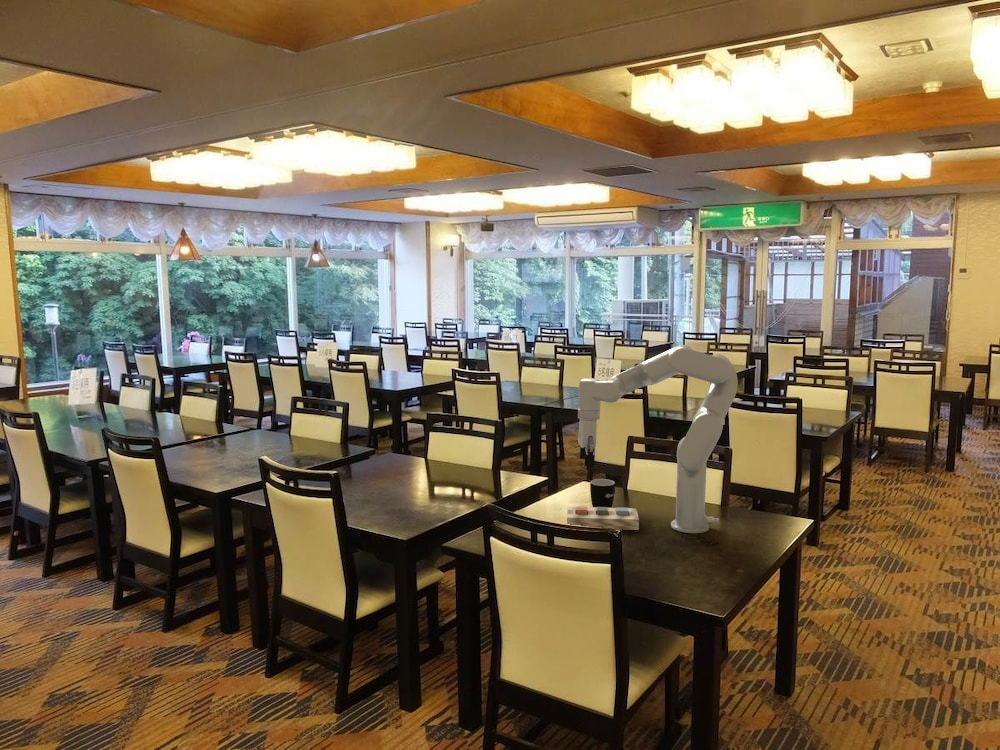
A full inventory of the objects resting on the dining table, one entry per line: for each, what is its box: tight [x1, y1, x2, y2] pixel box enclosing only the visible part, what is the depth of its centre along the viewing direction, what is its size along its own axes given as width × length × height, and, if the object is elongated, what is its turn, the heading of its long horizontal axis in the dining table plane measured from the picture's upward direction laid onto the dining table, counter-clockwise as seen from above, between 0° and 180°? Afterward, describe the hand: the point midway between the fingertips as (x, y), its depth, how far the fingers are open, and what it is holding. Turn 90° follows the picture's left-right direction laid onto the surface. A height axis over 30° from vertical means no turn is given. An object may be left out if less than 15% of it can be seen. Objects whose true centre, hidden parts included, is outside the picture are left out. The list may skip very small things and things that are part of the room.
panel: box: [566, 506, 640, 532], centre depth 249 cm, size 24×12×4 cm, turn 84°
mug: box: [589, 478, 616, 508], centre depth 267 cm, size 12×9×10 cm
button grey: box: [597, 507, 608, 515], centre depth 249 cm, size 4×4×3 cm
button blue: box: [616, 507, 629, 516], centre depth 248 cm, size 4×4×3 cm
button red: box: [576, 505, 588, 514], centre depth 250 cm, size 4×4×3 cm
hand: (586, 462), depth 252 cm, fingers open, 9 cm apart
